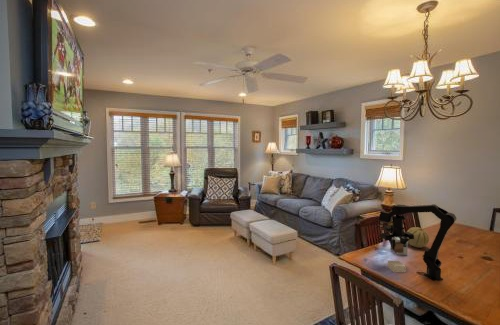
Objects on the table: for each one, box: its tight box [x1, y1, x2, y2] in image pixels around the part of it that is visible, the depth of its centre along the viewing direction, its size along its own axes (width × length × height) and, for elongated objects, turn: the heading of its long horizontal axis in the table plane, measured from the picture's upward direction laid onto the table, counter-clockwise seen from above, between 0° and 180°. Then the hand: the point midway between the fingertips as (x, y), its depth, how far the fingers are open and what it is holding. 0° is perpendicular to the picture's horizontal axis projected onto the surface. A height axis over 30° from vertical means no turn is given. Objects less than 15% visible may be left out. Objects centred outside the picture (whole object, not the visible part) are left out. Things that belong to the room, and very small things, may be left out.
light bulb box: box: [394, 237, 409, 256], centre depth 180 cm, size 11×7×11 cm, turn 168°
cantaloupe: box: [406, 226, 430, 249], centre depth 188 cm, size 15×15×15 cm
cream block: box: [387, 260, 407, 273], centre depth 155 cm, size 7×7×4 cm
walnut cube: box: [390, 241, 403, 253], centre depth 159 cm, size 5×5×5 cm
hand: (396, 249), depth 159 cm, fingers closed on walnut cube, 5 cm apart
